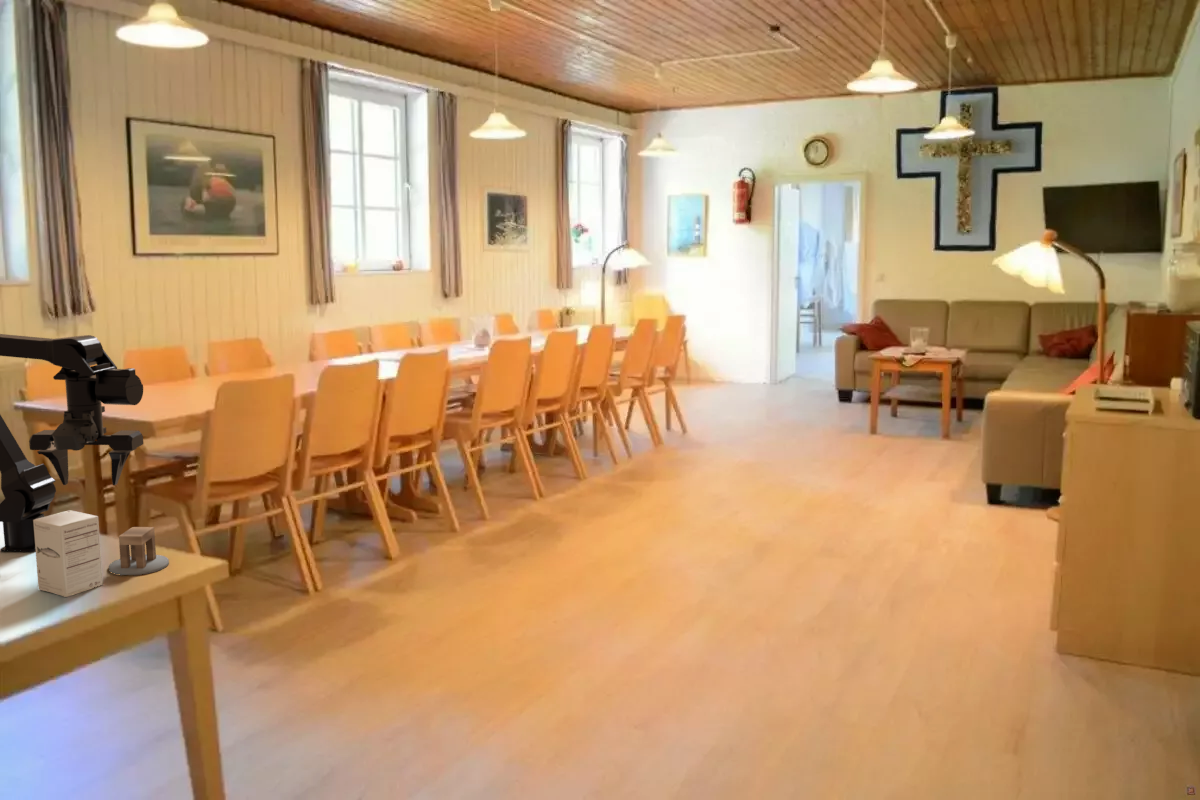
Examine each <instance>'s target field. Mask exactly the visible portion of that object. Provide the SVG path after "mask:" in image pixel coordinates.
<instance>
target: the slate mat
mask: <svg viewBox="0 0 1200 800" xmlns="http://www.w3.org/2000/svg"><path fill="white" fill-rule="evenodd" d="M145 555H146V567H145V568H137V565H136V560H131V555H130V565H131V566H130V567H129V568H121V562H120V559H115V560H114V561H112V562H111V563H110V564H108V571H110V572H112V573H115V574H120V575H119V576H122V575H134V576H141V575H142V574H143V575H147V574H152V573H155V572H159V571H161V570H164V569H165V568H167V567H168V566H169V561H170V559H169V558H168V557H167V556H165V555H160V554H156V559H155V560H147V554H145ZM110 572H109V573H110ZM112 573H111V574H112ZM115 574H114V575H115Z"/></svg>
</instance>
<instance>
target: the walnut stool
mask: <svg viewBox="0 0 1200 800" xmlns="http://www.w3.org/2000/svg"><path fill="white" fill-rule="evenodd" d="M118 543H119V544H118V545H119V558H120V562H121V568H129V567H130V566H131V565H130V556H131V560H136V565H137V568H145V567H146V555H147V560H155V559H156V555H157V552H156V536H155V527H154V526H152V527H151V526H132V527H130V528H128V529H127V530H126V531H124V532H123V533H121V534H120V535H118Z"/></svg>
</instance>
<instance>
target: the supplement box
mask: <svg viewBox="0 0 1200 800" xmlns="http://www.w3.org/2000/svg"><path fill="white" fill-rule="evenodd" d="M33 523H34V536H35V549H36V551H35V558H36V560H35V561H36V573H37V575H36V576H37V587H38V590H39V591H44V592H48V593H51V594H55V595H58V596H61V597H63V598H68V597H71V596H73V595H77V594H80V593H83V592H86V591H89V590H92V589H95V588H98V587H100V585H101V586H103V572H102V571H103V570H102V569H103V568H102V556H101V540H100V537H101V536H100V526H99V524H100V523H99V516H98V515H94V514H91V513H90V514H89V513H85V512H81V511H76V510H72V509H70V510H66V511H65V510H64V511H61V512H57V513H54V514H49V515H46V516H45V515H44V517H41V518H38V519H34V520H33ZM97 586H98V587H97ZM94 587H95V588H94Z"/></svg>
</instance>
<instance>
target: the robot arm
mask: <svg viewBox="0 0 1200 800" xmlns="http://www.w3.org/2000/svg"><path fill="white" fill-rule="evenodd" d="M102 345H103V344H102V343H101V342H100V340H99V339H98V337H96V336H95V335H90V334H88V335H87V334H86V335H84V334H83V335H77V336H68V337H66V336H65V337H60V338H59V337H57V338H56V337H55V338H50V337H37V336H28V335H27V336H26V335H17V334H16V335H15V334H3V333H0V357H7V358H8V357H9V358H10V357H11V358H20V359H32V360H41V361H45V362H48V363H50V364H51V365H53V366H57V367H61V369H60V370H59V371H58V372H57V373H56V374H54V375H53V377H52V378H53V380H55V381H58V380H59V381H65V382H64V384H65V393H66V395H65V396H66V407H67V409H66V410H64V413H63V421H62V422H61V423H60V424H59V425H58V426H57V428H55V429H44V430H41V431H38V432H36V433H32V435H31V436H30V438H29V441H28V445H29V450H31V451H37V452H36V453H37V454H38V455H42V456H44V457H45V458H47V460H49V461H50V463H51V465H52V466H53V468H54V470H55V471H56V474H57V476H58V477H59V479H60V482H61V484H62V485H63V486H67V485H68V483H69V474H70V473H69V452H68V450H72V451H74V452H76V451H81V450H82V449H84V448H85V446H108V447H109V448H111V449H112V450H111V451H109V452H108V455H109V457H110V459H111V482H112V485H113V486H116V485H118V483H119V480H120V477H121V475H122V472H123V469H124V466H125V465H126V461H127V459H128V458H129V456H130V454H131V452H132V451H135V450H137V448H139V447H141V446H143V445H144V435H143V434H142V432H141V431H140V430H131V429H130V430H123V429H121V430H119V431H117V432H114V433H113V434H107V427H104V421H103V420H104V419H103V413H104V412H106V408H105V406H104V405H116V406H117V405H119V406H137V405H138V404H139V403H140V402H141V400H142V399H143V396H144V384H143V383H142V380H141V378H140V377H139V376H138V375H137V374H136V369H135V368H132V367H131V368H130V367H128V368H118V366H117V365H116V364H115V363H114V361H113V360H112V359H111V358H110V357H109V355H108V354H107V352H106V351H105V350H104V349H103V348H104V347H103V346H102ZM102 404H103V406H102ZM0 479H1V481H0V490H1V493H2V495H3V498H4V499H3V500H2V501H1V502H0V522H1V523H2V529H3V530H2V531H3V538H4V539H3V540H4V546H1V547H0V552H36V549H35V536H34V523H33V520H34V519H38V518H41V517H45V514H44V512H48V511H49V509H50V506H51V502H53V500H54V498H55V496H56V492H57V489H56V485H55V484H54V483H55V482H56V480H55V479H54V478H53V477H52V475H51V474H50V472H49V470H48V467H47V465H45V464H44V463H41V464H39V465H38V464H37V465H35V464H34V463H32V462H31V461H29V460H28V458H27V457H26V455H25V453H24V452H23V450H22V448H21V447H20V445H19V443H18V442H17V440H16V438H15V436H14V435H13V433H12V431H11V430H10V428H9V426H8V425H7V424H6V422H5V420H4V418H3V416H2V415H1V414H0Z"/></svg>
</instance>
